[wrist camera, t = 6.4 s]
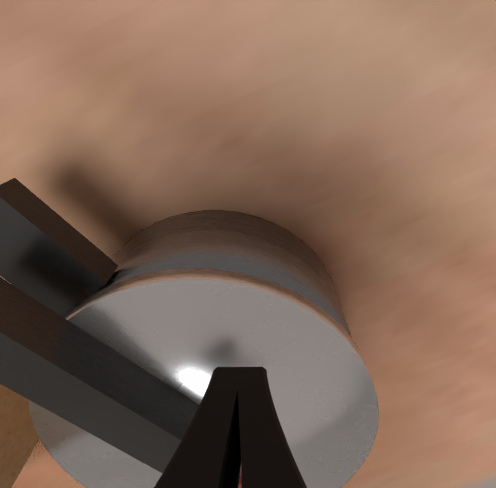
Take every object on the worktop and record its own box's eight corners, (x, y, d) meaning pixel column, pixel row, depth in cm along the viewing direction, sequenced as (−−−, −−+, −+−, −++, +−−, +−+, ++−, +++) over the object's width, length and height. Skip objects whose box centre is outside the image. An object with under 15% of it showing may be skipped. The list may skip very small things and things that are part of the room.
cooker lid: (440, 407, 16) (474, 472, 14) (221, 535, 21) (217, 599, 18) (105, 125, 11) (61, 144, 9) (-79, 378, 16) (-141, 437, 13)
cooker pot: (385, 331, 22) (427, 418, 17) (216, 432, 26) (205, 527, 21) (145, 66, 16) (87, 68, 11) (-24, 254, 20) (-125, 323, 15)
